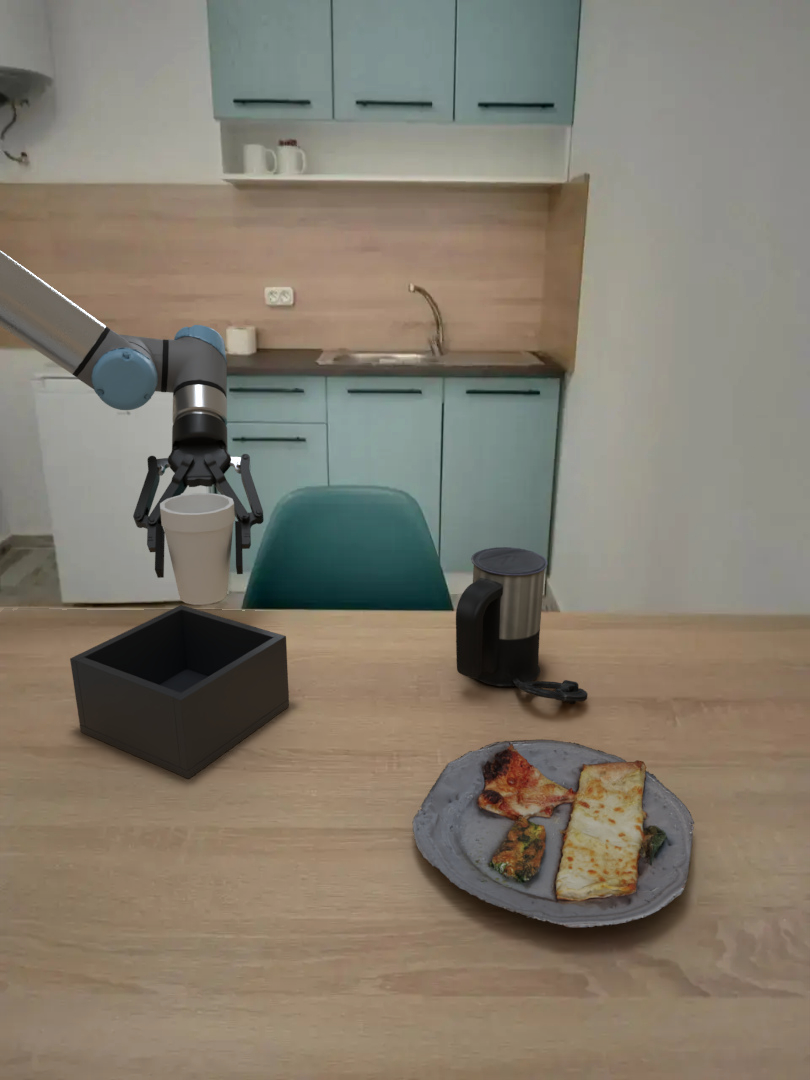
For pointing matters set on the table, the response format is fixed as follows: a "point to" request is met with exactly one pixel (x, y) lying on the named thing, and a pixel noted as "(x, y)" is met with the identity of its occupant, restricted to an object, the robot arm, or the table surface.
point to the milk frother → (506, 624)
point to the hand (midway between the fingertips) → (199, 571)
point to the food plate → (557, 832)
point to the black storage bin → (181, 687)
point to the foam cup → (199, 544)
